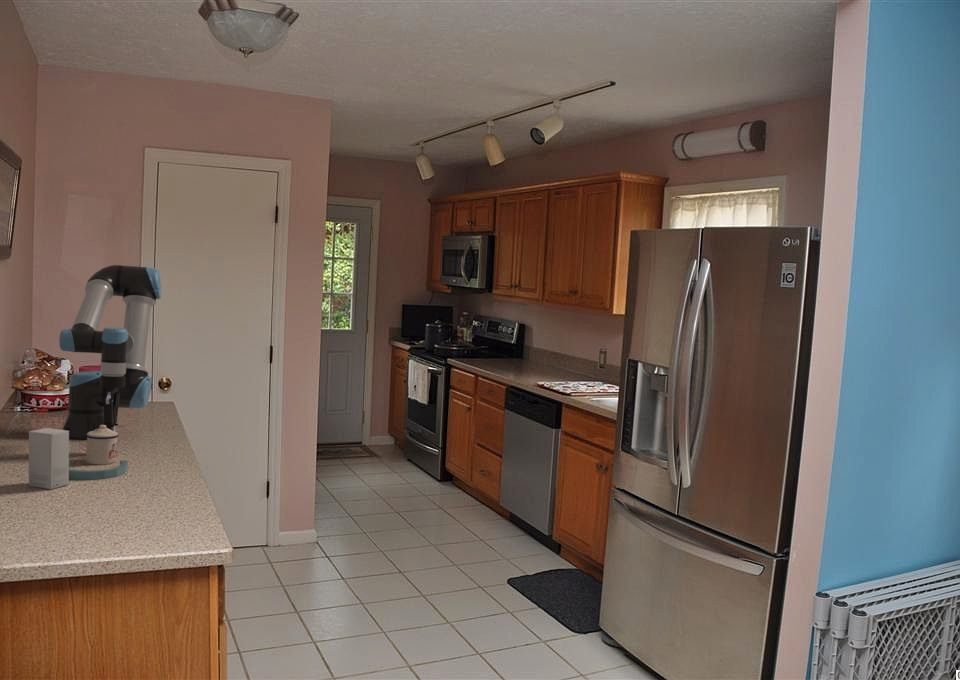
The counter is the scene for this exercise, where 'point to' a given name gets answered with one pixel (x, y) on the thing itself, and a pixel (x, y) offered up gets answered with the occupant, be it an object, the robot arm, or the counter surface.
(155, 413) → the counter surface
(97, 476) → the open curved ring
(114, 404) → the robot arm
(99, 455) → the teacup with lid
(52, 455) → the skincare box
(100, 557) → the counter surface
